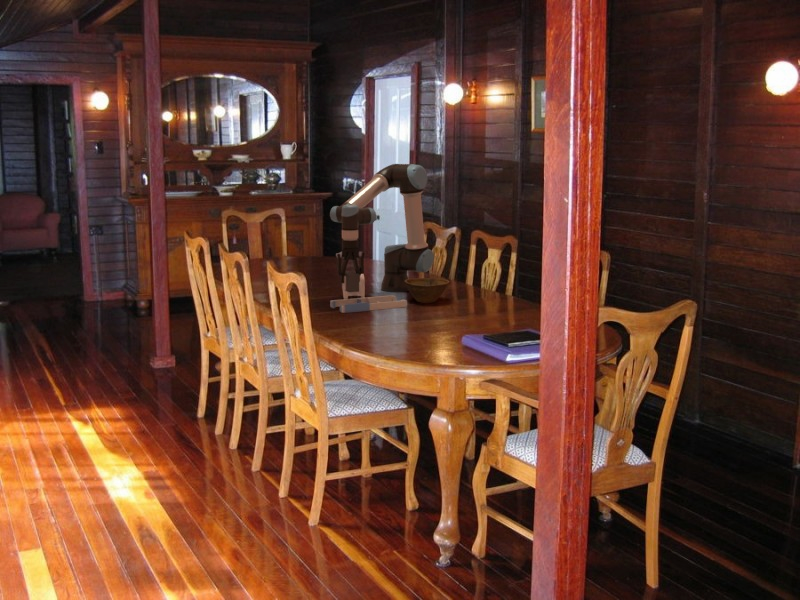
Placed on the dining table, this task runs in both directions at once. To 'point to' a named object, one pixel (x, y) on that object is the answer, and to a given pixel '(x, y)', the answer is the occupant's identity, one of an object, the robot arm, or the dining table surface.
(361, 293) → the cable organizer
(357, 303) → the slotted rail
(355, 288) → the dark brown block
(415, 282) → the bowl
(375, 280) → the dining table surface
